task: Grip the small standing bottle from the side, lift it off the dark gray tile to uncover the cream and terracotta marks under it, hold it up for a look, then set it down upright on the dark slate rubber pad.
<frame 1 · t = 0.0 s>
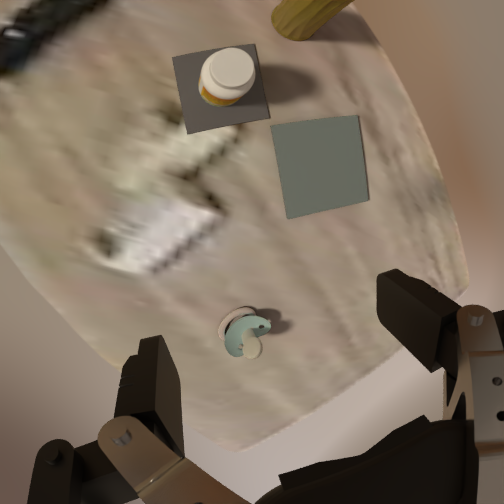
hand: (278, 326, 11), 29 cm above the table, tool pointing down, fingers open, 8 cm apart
slate pad: (322, 164, 39), on the table
supplement bottle: (220, 86, 34), resting on dark gray tile
dark gray tile: (220, 86, 34), on the table
vase: (293, 22, 33), on the table
pacifier: (240, 325, 45), on the table
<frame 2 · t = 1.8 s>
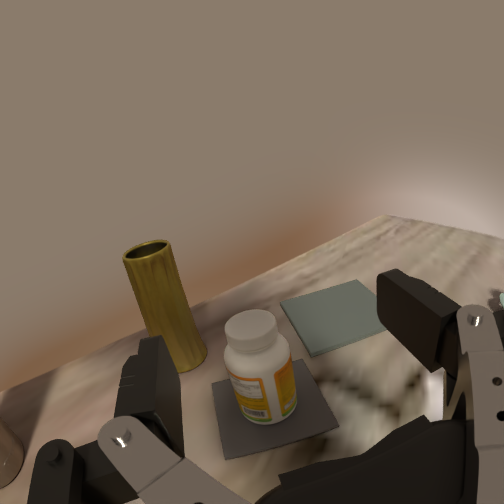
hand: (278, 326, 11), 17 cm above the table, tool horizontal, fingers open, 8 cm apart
slate pad: (338, 314, 39), on the table
supplement bottle: (269, 405, 27), resting on dark gray tile
dark gray tile: (269, 405, 27), on the table
vase: (183, 358, 37), on the table
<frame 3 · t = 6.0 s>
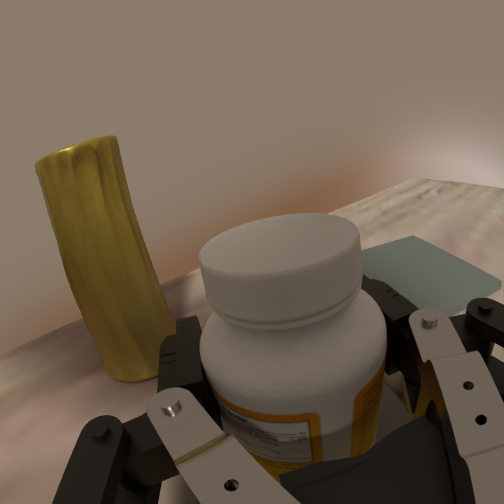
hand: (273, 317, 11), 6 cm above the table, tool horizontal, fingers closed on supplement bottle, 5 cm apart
slate pad: (401, 280, 23), on the table
supplement bottle: (308, 456, 11), resting on dark gray tile, touching gripper
dark gray tile: (309, 456, 11), on the table
vase: (145, 356, 21), on the table
when the fingers open (8 cm above the table, at t = 13.2 s): supplement bottle drops 1 cm, resting on slate pad.
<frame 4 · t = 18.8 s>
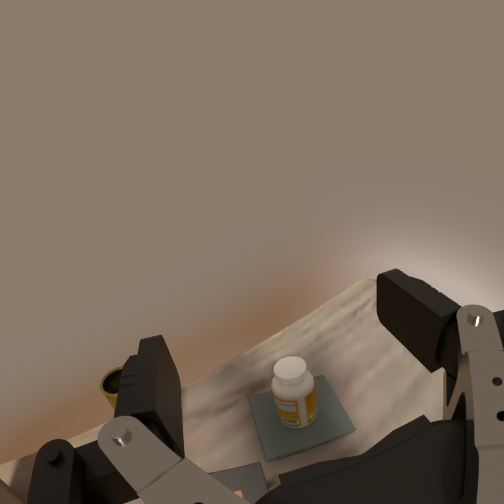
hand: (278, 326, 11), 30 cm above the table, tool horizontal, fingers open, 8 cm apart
slate pad: (298, 416, 40), on the table
supplement bottle: (298, 415, 39), resting on slate pad
dark gray tile: (228, 503, 28), on the table
vase: (163, 448, 37), on the table
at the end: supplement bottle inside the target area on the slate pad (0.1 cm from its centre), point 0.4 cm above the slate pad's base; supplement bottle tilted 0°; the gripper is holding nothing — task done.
